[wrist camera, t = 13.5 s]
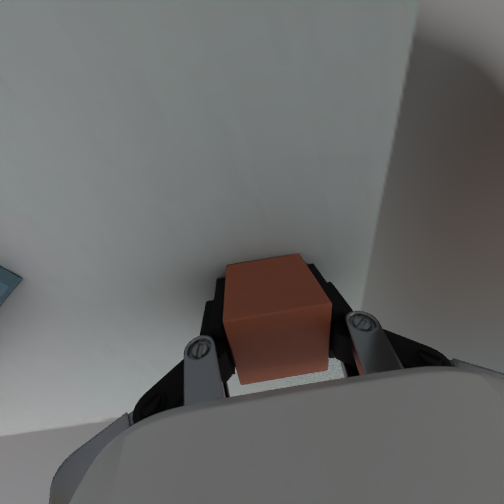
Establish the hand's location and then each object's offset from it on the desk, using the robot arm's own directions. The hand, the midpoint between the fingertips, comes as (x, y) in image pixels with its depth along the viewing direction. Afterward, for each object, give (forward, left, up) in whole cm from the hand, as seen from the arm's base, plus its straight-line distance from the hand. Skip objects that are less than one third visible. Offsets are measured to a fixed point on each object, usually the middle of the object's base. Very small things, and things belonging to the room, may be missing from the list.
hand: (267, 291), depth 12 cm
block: (0, 0, 0) cm, 0 cm away
